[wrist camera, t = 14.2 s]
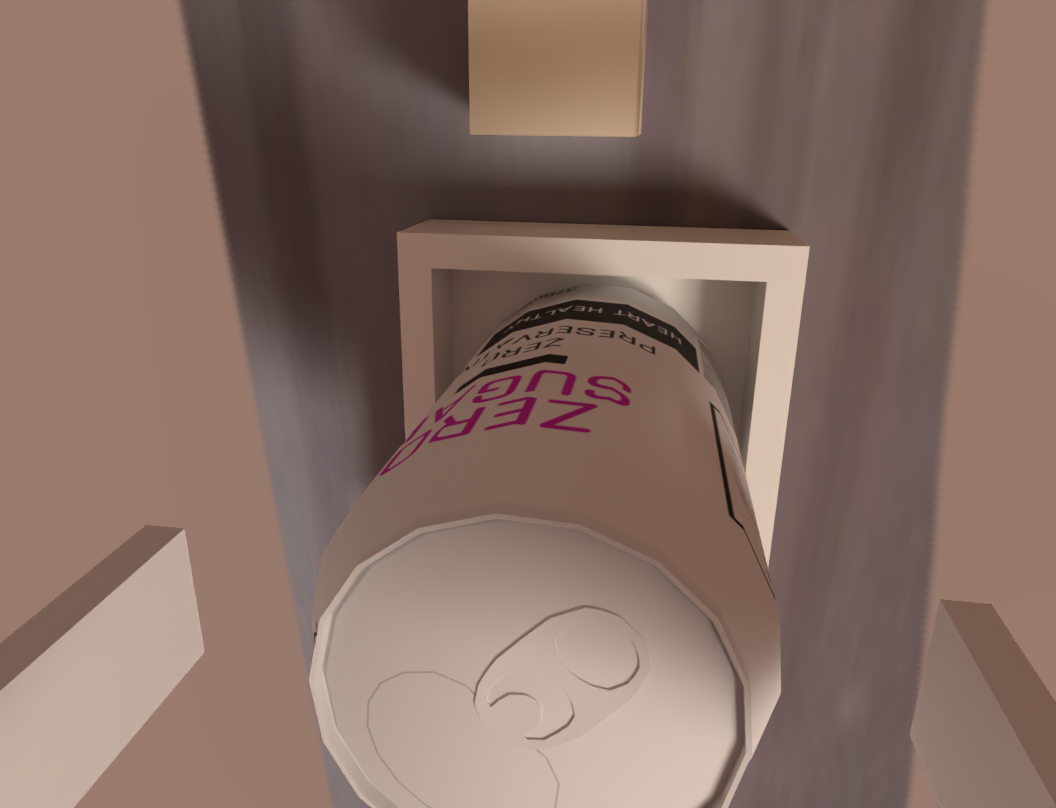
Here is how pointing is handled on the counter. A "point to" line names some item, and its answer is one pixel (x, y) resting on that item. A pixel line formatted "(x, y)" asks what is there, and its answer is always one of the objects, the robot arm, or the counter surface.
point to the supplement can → (554, 580)
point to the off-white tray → (621, 261)
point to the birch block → (556, 67)
